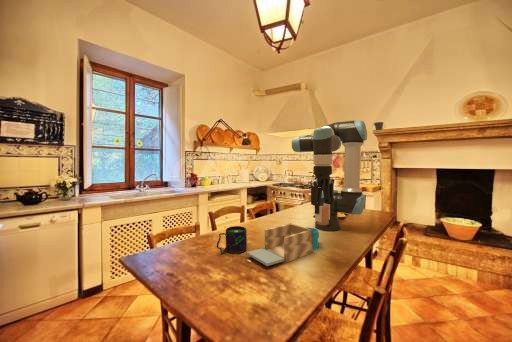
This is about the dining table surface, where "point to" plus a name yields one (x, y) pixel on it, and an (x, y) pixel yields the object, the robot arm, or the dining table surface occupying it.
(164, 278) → the dining table surface
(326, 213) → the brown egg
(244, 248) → the mug
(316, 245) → the mug
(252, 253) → the panel
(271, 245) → the crate
